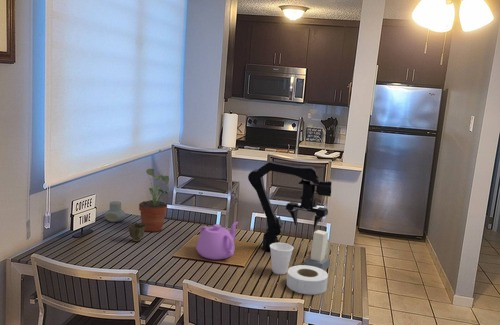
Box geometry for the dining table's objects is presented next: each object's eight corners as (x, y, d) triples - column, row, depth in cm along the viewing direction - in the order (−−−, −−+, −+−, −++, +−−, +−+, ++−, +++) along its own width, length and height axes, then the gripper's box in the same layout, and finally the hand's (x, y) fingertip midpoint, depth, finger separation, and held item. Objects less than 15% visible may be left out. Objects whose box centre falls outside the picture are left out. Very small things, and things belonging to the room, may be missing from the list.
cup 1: (125, 242, 206) (125, 225, 205) (134, 237, 213) (135, 221, 212) (138, 245, 204) (138, 228, 202) (147, 240, 211) (148, 224, 209)
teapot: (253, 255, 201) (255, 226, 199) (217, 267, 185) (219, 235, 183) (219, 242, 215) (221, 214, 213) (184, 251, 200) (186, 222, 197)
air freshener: (101, 221, 234) (102, 203, 233) (109, 217, 242) (109, 199, 241) (121, 224, 233) (121, 205, 231) (128, 219, 241) (128, 201, 239)
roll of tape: (281, 289, 168) (282, 275, 167) (291, 274, 183) (293, 261, 182) (322, 298, 163) (324, 284, 162) (329, 282, 178) (331, 269, 177)
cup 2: (275, 278, 178) (277, 251, 176) (263, 268, 187) (265, 243, 185) (296, 274, 183) (298, 249, 181) (283, 265, 191) (285, 241, 189)
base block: (304, 267, 192) (305, 259, 191) (312, 262, 198) (313, 254, 198) (321, 273, 187) (322, 264, 187) (329, 267, 194) (330, 258, 193)
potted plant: (165, 235, 220) (168, 165, 215) (134, 232, 220) (137, 163, 215) (171, 225, 235) (174, 160, 230) (142, 223, 235) (145, 158, 230)
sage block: (321, 257, 205) (323, 244, 204) (312, 253, 208) (313, 241, 208) (327, 254, 209) (328, 242, 208) (318, 251, 212) (319, 239, 211)
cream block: (310, 258, 191) (313, 232, 189) (314, 255, 195) (318, 229, 194) (320, 261, 189) (323, 234, 187) (324, 258, 193) (328, 232, 191)
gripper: (333, 194, 206) (329, 227, 208) (295, 188, 214) (292, 219, 217) (325, 198, 196) (322, 232, 198) (286, 192, 204) (283, 224, 207)
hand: (305, 227), depth 205 cm, fingers open, 9 cm apart
